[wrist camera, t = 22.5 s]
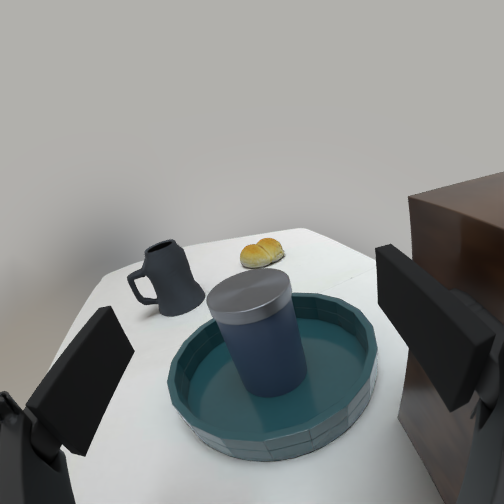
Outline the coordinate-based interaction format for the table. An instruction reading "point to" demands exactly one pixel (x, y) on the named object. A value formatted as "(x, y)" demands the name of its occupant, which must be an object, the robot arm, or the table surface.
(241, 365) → the tin
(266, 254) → the bread roll
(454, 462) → the brown wooden block
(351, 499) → the table surface
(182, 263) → the mug
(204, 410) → the round teal tray
